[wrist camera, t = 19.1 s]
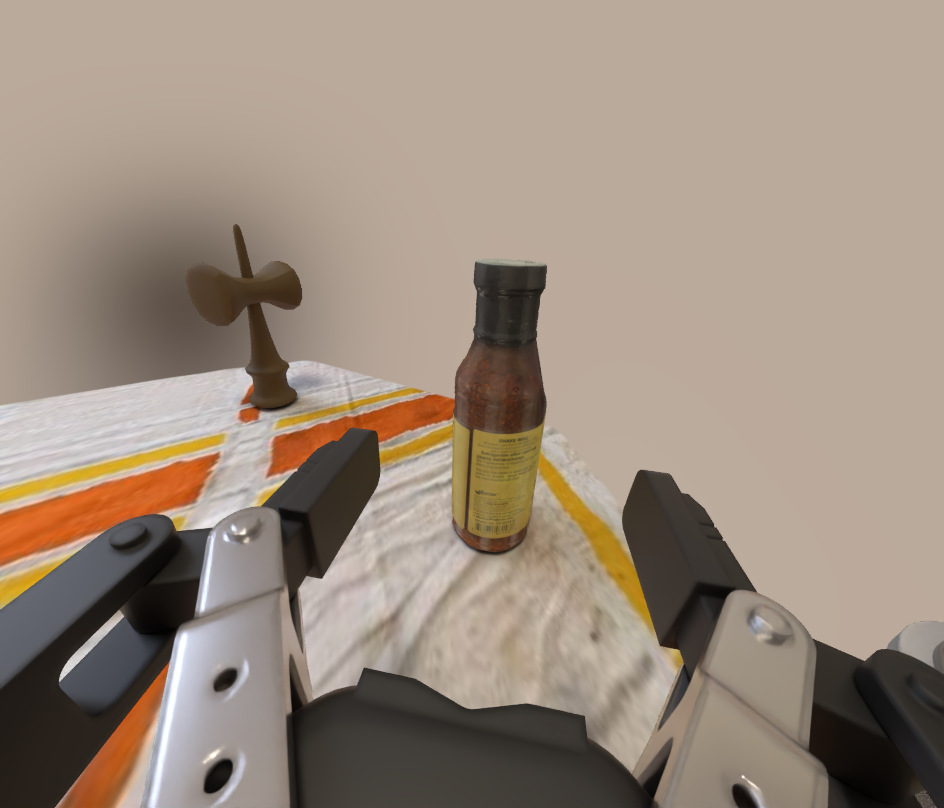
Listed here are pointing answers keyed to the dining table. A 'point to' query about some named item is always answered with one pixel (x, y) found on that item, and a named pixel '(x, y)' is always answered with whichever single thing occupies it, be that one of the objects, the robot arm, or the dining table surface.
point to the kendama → (250, 315)
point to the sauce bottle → (499, 408)
